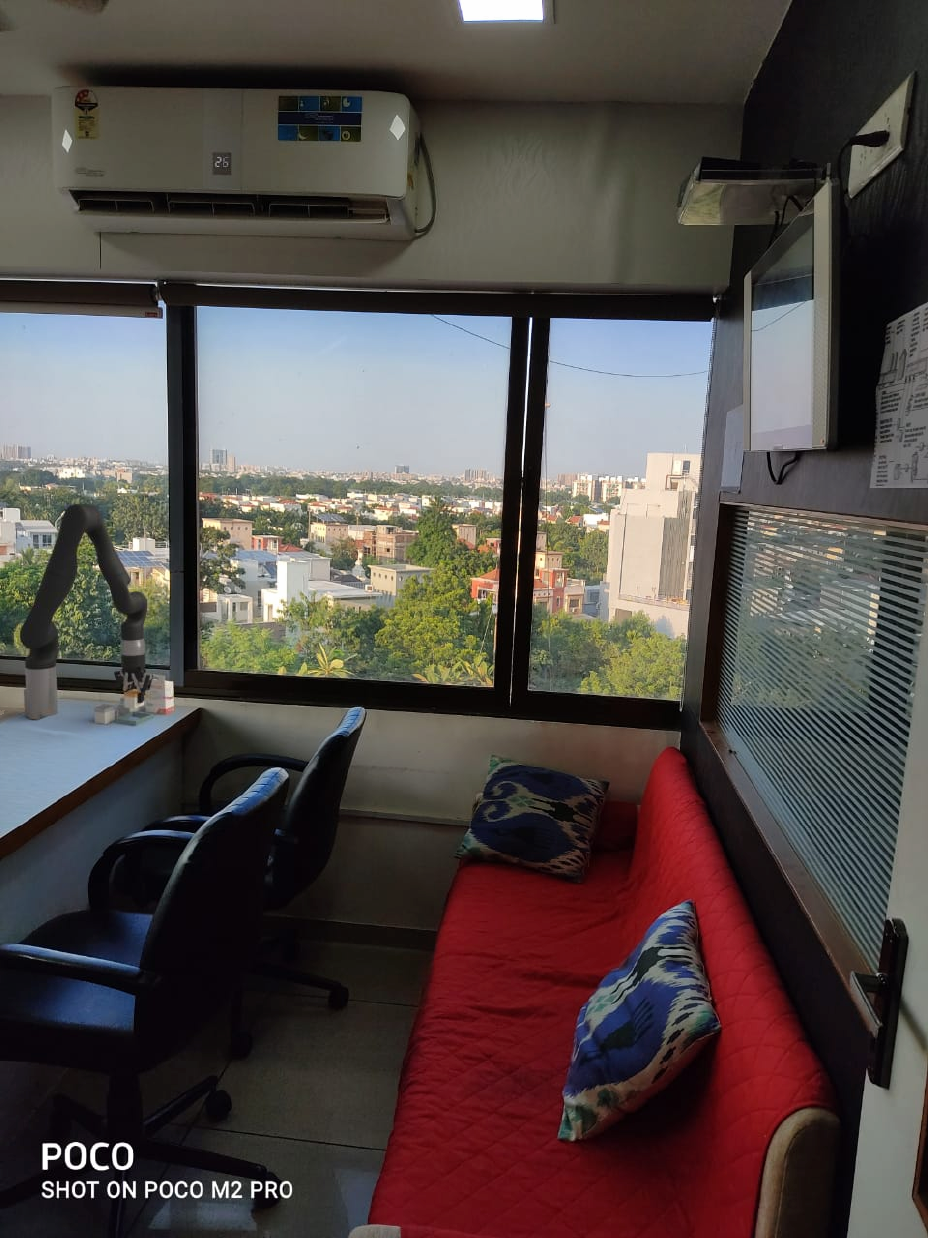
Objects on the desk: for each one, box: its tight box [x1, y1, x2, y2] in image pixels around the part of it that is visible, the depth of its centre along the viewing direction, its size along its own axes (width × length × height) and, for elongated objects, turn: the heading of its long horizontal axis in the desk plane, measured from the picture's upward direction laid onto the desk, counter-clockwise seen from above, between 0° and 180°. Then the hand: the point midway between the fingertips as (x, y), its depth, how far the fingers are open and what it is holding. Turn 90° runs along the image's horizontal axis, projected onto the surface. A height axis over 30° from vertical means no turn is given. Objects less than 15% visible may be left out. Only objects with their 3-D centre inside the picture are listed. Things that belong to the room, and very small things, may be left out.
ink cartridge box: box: [144, 673, 175, 715], centre depth 290 cm, size 9×5×15 cm, turn 73°
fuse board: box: [89, 696, 144, 726], centre depth 283 cm, size 7×19×6 cm, turn 165°
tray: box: [114, 711, 154, 727], centre depth 280 cm, size 8×9×2 cm
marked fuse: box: [123, 688, 145, 709], centre depth 279 cm, size 4×5×5 cm
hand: (134, 701), depth 279 cm, fingers closed on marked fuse, 4 cm apart
